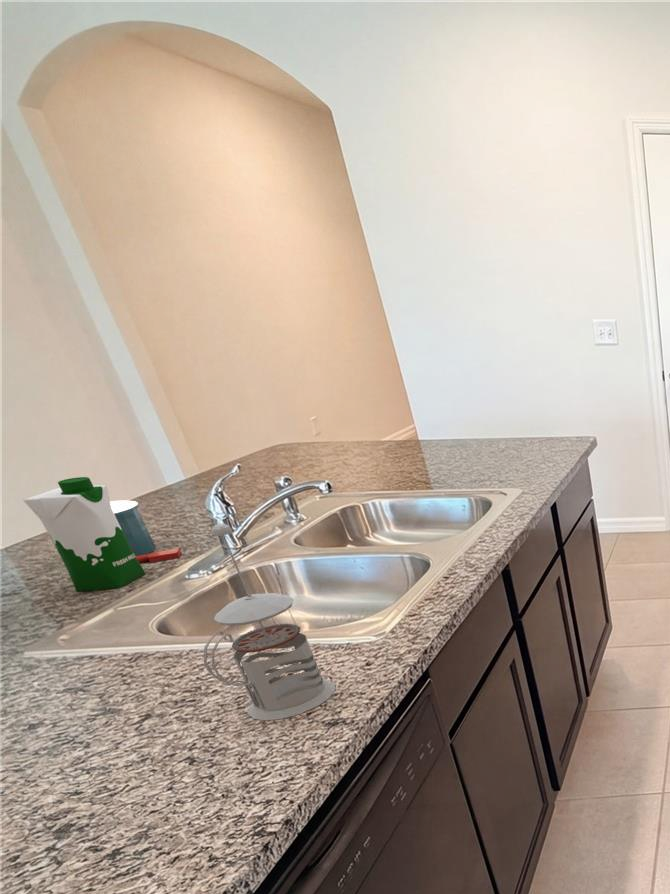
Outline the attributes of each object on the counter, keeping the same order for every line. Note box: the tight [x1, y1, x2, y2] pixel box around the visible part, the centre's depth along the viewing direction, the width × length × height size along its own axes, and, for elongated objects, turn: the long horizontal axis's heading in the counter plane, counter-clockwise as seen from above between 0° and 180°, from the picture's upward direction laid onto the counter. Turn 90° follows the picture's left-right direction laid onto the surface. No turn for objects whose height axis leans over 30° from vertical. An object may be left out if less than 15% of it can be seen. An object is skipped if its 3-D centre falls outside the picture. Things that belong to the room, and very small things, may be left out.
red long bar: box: [136, 547, 182, 564], centre depth 133 cm, size 16×3×1 cm, turn 125°
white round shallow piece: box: [110, 500, 140, 516], centre depth 133 cm, size 14×14×5 cm
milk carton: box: [23, 476, 146, 592], centre depth 121 cm, size 9×9×20 cm
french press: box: [202, 523, 336, 722], centre depth 82 cm, size 10×12×25 cm
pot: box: [115, 508, 156, 556], centre depth 136 cm, size 13×18×10 cm
